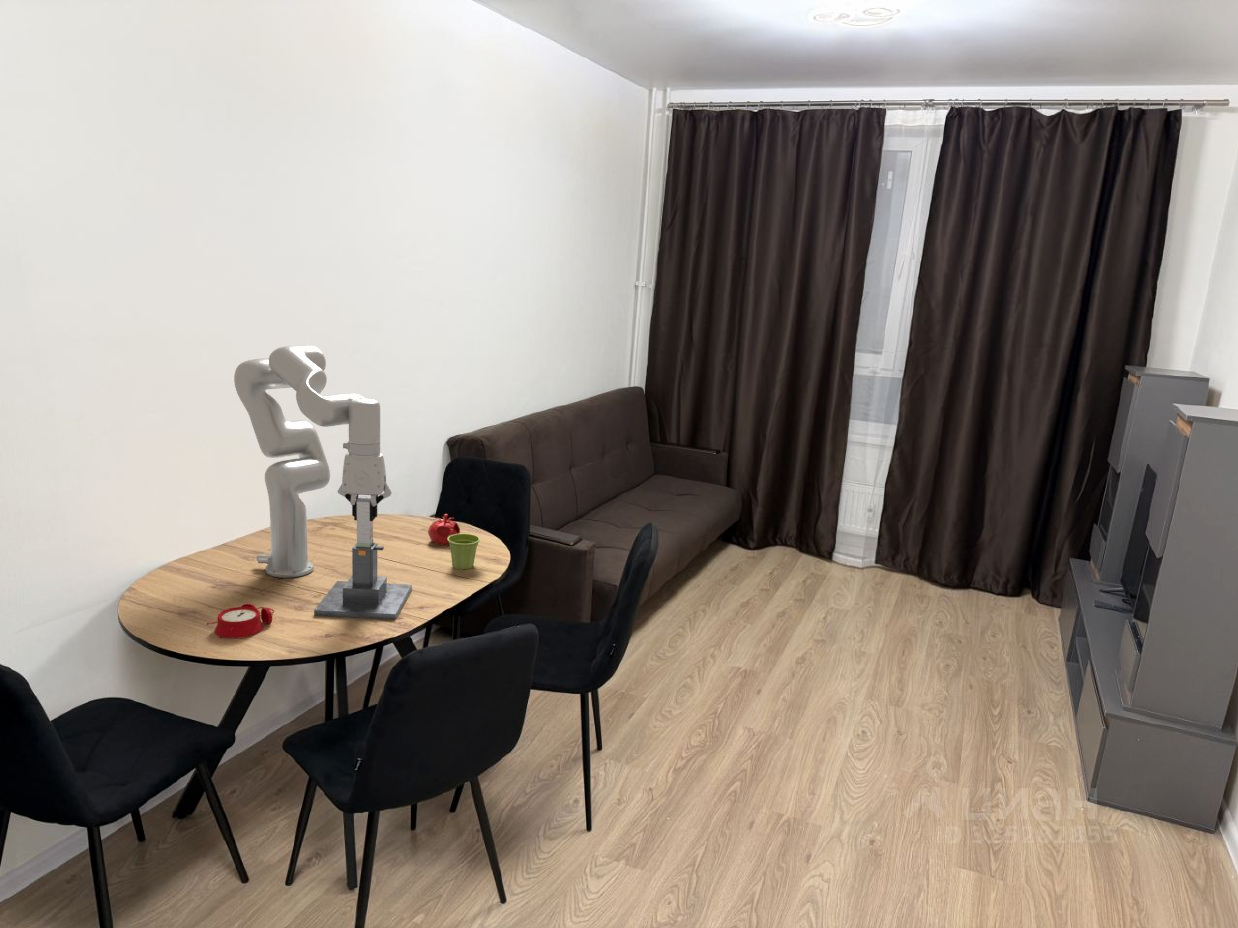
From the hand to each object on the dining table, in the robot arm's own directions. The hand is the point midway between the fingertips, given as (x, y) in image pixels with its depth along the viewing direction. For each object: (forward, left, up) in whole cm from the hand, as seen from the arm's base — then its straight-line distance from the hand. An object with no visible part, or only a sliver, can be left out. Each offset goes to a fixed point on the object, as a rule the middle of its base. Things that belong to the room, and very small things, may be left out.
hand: (364, 518), depth 218 cm
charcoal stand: (0, 0, -23) cm, 23 cm away
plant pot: (+21, +30, -23) cm, 43 cm away
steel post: (0, 0, -11) cm, 11 cm away
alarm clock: (-24, -18, -23) cm, 38 cm away
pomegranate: (+12, +51, -23) cm, 57 cm away
